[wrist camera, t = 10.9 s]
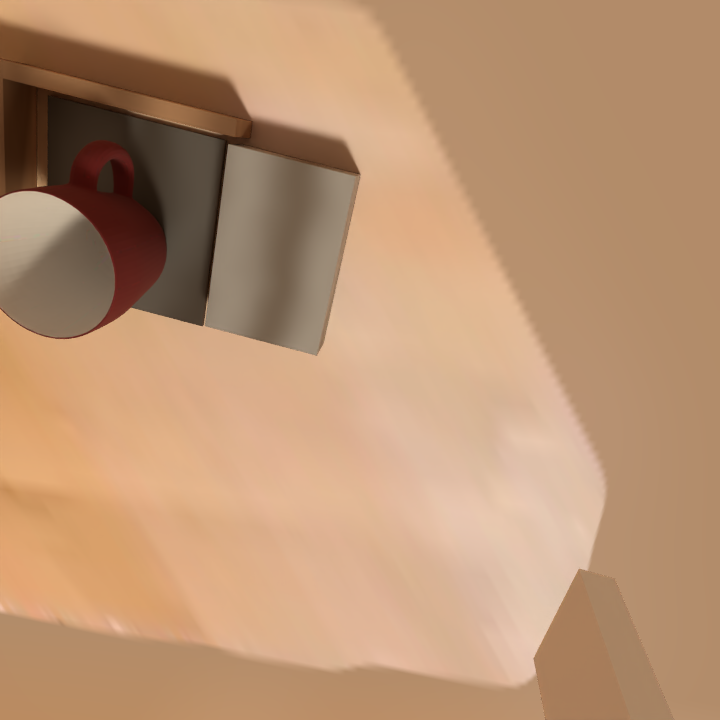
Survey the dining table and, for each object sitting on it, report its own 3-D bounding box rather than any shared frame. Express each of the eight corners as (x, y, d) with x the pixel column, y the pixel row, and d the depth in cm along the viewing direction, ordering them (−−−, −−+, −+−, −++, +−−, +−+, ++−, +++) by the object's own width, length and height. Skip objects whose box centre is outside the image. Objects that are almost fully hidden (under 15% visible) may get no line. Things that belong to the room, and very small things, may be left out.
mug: (79, 131, 36) (-44, 124, 26) (197, 149, 35) (113, 148, 26) (87, 285, 40) (-18, 326, 30) (193, 304, 39) (119, 351, 30)
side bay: (24, 277, 40) (-6, 287, 37) (21, 63, 35) (-14, 55, 32) (320, 355, 40) (312, 371, 37) (365, 150, 34) (360, 150, 31)
